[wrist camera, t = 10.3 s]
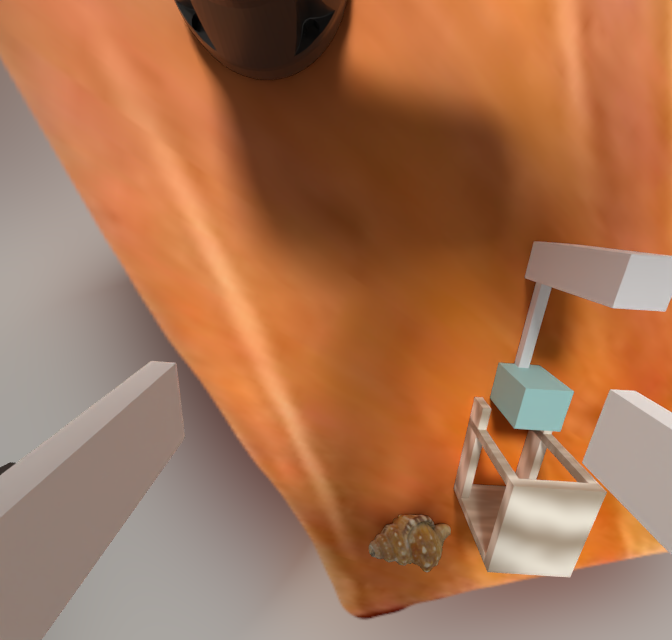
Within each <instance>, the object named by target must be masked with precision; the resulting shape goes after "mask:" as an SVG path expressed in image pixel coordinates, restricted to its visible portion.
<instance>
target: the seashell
mask: <svg viewBox="0 0 672 640" xmlns="http://www.w3.org/2000/svg"><path fill="white" fill-rule="evenodd" d="M450 534H451V529H450V527H449V526H448V525H447V524H444V523H443V524H437V525H434V522H433V521H432V519H431V518H430V517H429V516H426V515H425V516H424V515H411V514H409V515H402V514H401V515H398V518H395V519H394V520H393V524H388V525H386V526H385V527H384V528H383V530H382V532H381V533H380V534H377V535H376V537H375V539H374V540H373V541H371V543H370V545H369V553H370V554H371V556H373V557H376V558H377V559H384V560H385V561H387V562H393V561H396V562H397V563H398V564H400V565H406V564H411V563H414V564H417V565H419V566H420V567H421V568H422V569H423V571H425V572H429V571H430V570H431V569H432V568H433V567H434V566H436V565H438V561H439V560H440V558H441V553H442V546H443V542H444V540H445V539H446V538H447V537H448V536H449V535H450Z"/></svg>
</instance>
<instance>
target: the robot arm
mask: <svg viewBox="0 0 672 640" xmlns="http://www.w3.org/2000/svg"><path fill="white" fill-rule="evenodd" d="M174 1H175V3H176V5H177V7H178V9H179V11H180V13H181V15H182V16H183V18H184V20H185V22H186V23H187V25H188V26H189V28H190V29H191V31H192V32H193V33H194V35H195V36H196V37H197V38H198V39H199V41H200V42H201V43H202V44H203V46H204V47H205V48H206V49H207V50H208V51H209V52H210V54H211V55H212V56H214V57H215V58H216V59H217V60H218V61H219V62H220V63H222V64H223V65H225V66H226V67H227V68H229V69H231V70H233V71H234V72H236V73H239V74H241V75H244V76H247V77H250V78H255V79H261V80H273V79H281V78H285V77H288V76H291V75H294V74H296V73H298V72H300V71H302V70H303V69H305V68H306V67H308V66H309V65H310V64H312V63H313V62H314V61H315V60H316V59H317V58H318V57H319V56H320V55H321V54H322V53H323V52H324V51H325V49H326V48H327V47H328V45H329V44H330V42H331V41H332V39H333V37H334V35H335V34H336V32H337V30H338V27H339V25H340V23H341V20H342V17H343V14H344V11H345V7H346V2H347V0H174ZM184 439H185V434H184V425H183V417H182V408H181V399H180V391H179V382H178V373H177V365H176V363H173V362H156V361H151V362H149V363H148V364H147V365H145V366H144V367H143V368H141V369H140V370H139V371H137V372H136V373H135V374H133V375H132V376H131V377H129V378H128V379H127V380H125V381H124V382H123V383H122V384H120V385H119V386H118V387H116V388H115V389H114V390H113V391H111V392H110V393H108V394H107V395H106V396H104V397H103V398H102V399H100V400H99V401H98V402H96V403H95V404H94V405H92V406H91V407H90V408H89V409H87V410H86V411H85V412H83V413H82V414H81V415H79V416H78V417H77V418H75V419H74V420H73V421H71V422H70V423H69V424H67V425H66V426H65V427H63V428H62V429H61V430H59V431H58V432H57V433H55V434H54V435H53V436H51V437H50V438H49V439H47V440H46V441H45V442H44V443H42V444H41V445H40V446H38V447H37V448H36V449H34V450H33V451H32V452H30V453H29V454H28V455H26V456H25V457H24V458H22V459H21V460H20V461H18V462H17V463H8V464H6V465H4V466H2V467H0V640H42V638H43V637H44V636H45V634H46V633H47V631H48V630H49V628H50V627H51V626H52V624H53V623H54V621H55V620H56V619H57V617H58V616H59V614H60V613H61V612H62V610H63V609H64V607H65V606H66V605H67V603H68V602H69V600H70V599H71V597H72V596H73V595H74V593H75V592H76V590H77V589H78V588H79V586H80V585H81V584H82V582H83V581H84V579H85V578H86V577H87V575H88V574H89V572H90V571H91V569H92V568H93V567H94V565H95V564H96V562H97V561H98V560H99V558H100V557H101V555H102V554H103V553H104V551H105V550H106V548H107V547H108V546H109V544H110V543H111V541H112V540H113V539H114V537H115V536H116V534H117V533H118V532H119V530H120V529H121V527H122V526H123V524H124V523H125V522H126V520H127V519H128V517H129V516H130V515H131V513H132V512H133V510H134V509H135V508H136V506H137V505H138V503H139V502H140V501H141V499H142V498H143V496H144V495H145V493H146V492H147V491H148V489H149V488H150V486H151V485H152V484H153V482H154V481H155V480H156V478H157V477H158V475H159V474H160V473H161V471H162V470H163V468H164V467H165V465H166V464H167V463H168V461H169V460H170V458H171V457H172V456H173V454H174V453H175V451H176V450H177V449H178V447H179V446H180V444H181V443H182V442H183V440H184ZM582 463H583V464H584V465H585V466H586V467H587V468H588V469H589V470H590V471H591V472H592V473H593V475H594V476H595V477H596V478H597V479H598V480H599V481H600V482H601V483H602V484H603V485H604V486H605V487H606V488H607V489H608V490H609V491H610V492H611V493H612V494H613V495H614V496H615V497H616V498H617V499H618V500H619V501H620V502H621V503H622V504H623V506H624V507H625V508H626V509H627V510H628V511H629V512H630V513H631V514H632V515H633V516H634V517H635V518H636V519H637V520H638V521H639V522H640V523H641V524H642V525H643V526H644V527H645V528H646V529H647V530H648V531H649V532H650V533H651V534H652V535H653V536H654V538H655V539H656V540H657V541H658V542H659V543H660V544H661V545H662V546H663V547H664V548H665V549H666V550H667V551H668V552H669V553H670V554H671V555H672V413H671V412H670V411H668V410H666V409H665V408H663V407H661V406H660V405H658V404H656V403H655V402H653V401H651V400H650V399H648V398H646V397H645V396H643V395H641V394H640V393H638V392H636V391H628V390H611V389H610V391H609V394H608V396H607V399H606V401H605V404H604V407H603V409H602V412H601V415H600V417H599V420H598V422H597V425H596V428H595V430H594V433H593V436H592V438H591V441H590V443H589V446H588V449H587V451H586V454H585V456H584V459H583V462H582Z"/></svg>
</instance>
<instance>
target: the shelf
mask: <svg viewBox="0 0 672 640" xmlns="http://www.w3.org/2000/svg"><path fill="white" fill-rule="evenodd" d="M490 413H491V408H490V406H489V405H488V404H487V402H486V401H485V400H484V399H483V397H475V398H474V402H473V407H472V411H471V415H470V420H469V424H468V428H467V433H466V437H465V441H464V446H463V450H462V454H461V459H460V463H459V467H458V472H457V476H456V480H455V485H454V491H455V493H456V496H457V498H458V500H459V503H460V505H461V508H462V510H463V513H464V515H465V518H466V520H467V523H468V525H469V528H470V530H471V532H472V535H473V537H474V540H475V542H476V545H477V547H478V550H479V552H480V555H481V557H482V560H483V562H484V564H485V567H486V569H487V572H497V573H512V574H527V575H543V576H559V577H570V576H571V574H572V571H573V569H574V567H575V565H576V562H577V560H578V558H579V555H580V553H581V551H582V548H583V546H584V544H585V541H586V539H587V537H588V534H589V532H590V530H591V528H592V525H593V523H594V521H595V518H596V516H597V514H598V511H599V509H600V507H601V504H602V502H603V500H604V497H605V495H606V493H607V492H606V491H605V490H604V489H603V488H602V487H601V486H600V485H599V483H598V482H597V481H596V480H595V479H594V478H593V477H592V476H591V475H590V474H589V473H588V472H587V471H586V470H585V469H584V468H583V467H582V466H581V465H580V464H579V463H578V462H577V460H576V459H575V458H574V457H573V456H572V455H571V454H570V453H569V452H568V451H567V450H566V449H565V448H564V447H563V446H562V445H561V444H560V443H559V442H558V441H557V440H556V438H555V437H554V436H553V435H552V434H551V433H552V431H543V430H529V431H528V434H527V437H526V441H525V444H524V447H523V450H522V454H521V457H520V460H519V463H518V467H517V470H516V473H515V472H514V471H513V469H512V468H511V466H510V465H509V463H508V462H507V460H506V459H505V457H504V456H503V454H502V453H501V451H500V450H499V448H498V447H497V445H496V444H495V442H494V441H493V439H492V438H491V436H490V435H489V433H488V432H487V430H486V429H487V425H488V421H489V417H490ZM482 446H483V448H484V450H485V451H486V453H487V454H488V456H489V458H490V459H491V461H492V463H493V464H494V466H495V468H496V469H497V471H498V473H499V474H500V476H501V478H502V479H503V481H504V483H505V484H506V486H494V485H478V484H473V480H474V476H475V472H476V468H477V464H478V460H479V456H480V452H481V448H482ZM546 448H548V449H549V450H550V451H551V452H552V453H553V454H554V456H555V457H556V458H557V459H558V460H559V461H560V462H561V464H562V465H563V466H564V467H565V468H566V469H567V470H568V471H569V473H570V474H571V475H572V476H573V477H574V478H575V479H576V481H577V482H564V481H548V480H536V478H537V475H538V472H539V469H540V466H541V463H542V460H543V457H544V454H545V451H546Z"/></svg>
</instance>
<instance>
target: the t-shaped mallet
mask: <svg viewBox="0 0 672 640" xmlns="http://www.w3.org/2000/svg"><path fill="white" fill-rule="evenodd" d="M525 278H526V279H529V280H532V281H535V282H536V284H535V288H534V292H533V296H532V299H531V303H530V307H529V311H528V314H527V318H526V322H525V326H524V329H523V333H522V337H521V340H520V344H519V348H518V352H517V355H516V359H515V363H514V364H510V363H499V364H498V368H497V372H496V376H495V380H494V384H493V388H492V392H491V396H490V399H491V400H492V401H493V403H494V404H495V405H496V406H497V408H498V409H499V410H500V411H501V413H502V414H503V415H504V416H505V418H506V419H507V420H508V421H509V423H510V424H511V425H512V426H513V428H514V429H528V430H543V431H558V432H560V431H561V428H562V425H563V422H564V419H565V416H566V413H567V410H568V407H569V404H570V402H571V399H572V396H573V393H574V391H573V390H571V389H570V388H569V387H567V386H566V385H565V384H563V383H562V382H561V381H559V380H558V379H557V378H555V377H554V376H553V375H552V374H550V373H549V372H548V371H546V370H545V369H544V368H542V367H541V366H540V365H530V362H531V358H532V355H533V351H534V348H535V344H536V341H537V337H538V334H539V330H540V327H541V323H542V320H543V316H544V313H545V309H546V306H547V302H548V299H549V295H550V292H551V288H555V289H558V290H561V291H564V292H567V293H570V294H573V295H576V296H579V297H581V298H584V299H587V300H590V301H593V302H596V303H599V304H602V305H605V306H608V307H611V308H620V309H635V310H650V311H666V309H667V306H668V304H669V302H670V299H671V297H672V256H669V255H660V254H652V253H644V252H636V251H627V250H619V249H611V248H602V247H594V246H586V245H578V244H568V243H553V242H537V241H534V243H533V247H532V250H531V254H530V258H529V262H528V266H527V270H526V274H525Z"/></svg>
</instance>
